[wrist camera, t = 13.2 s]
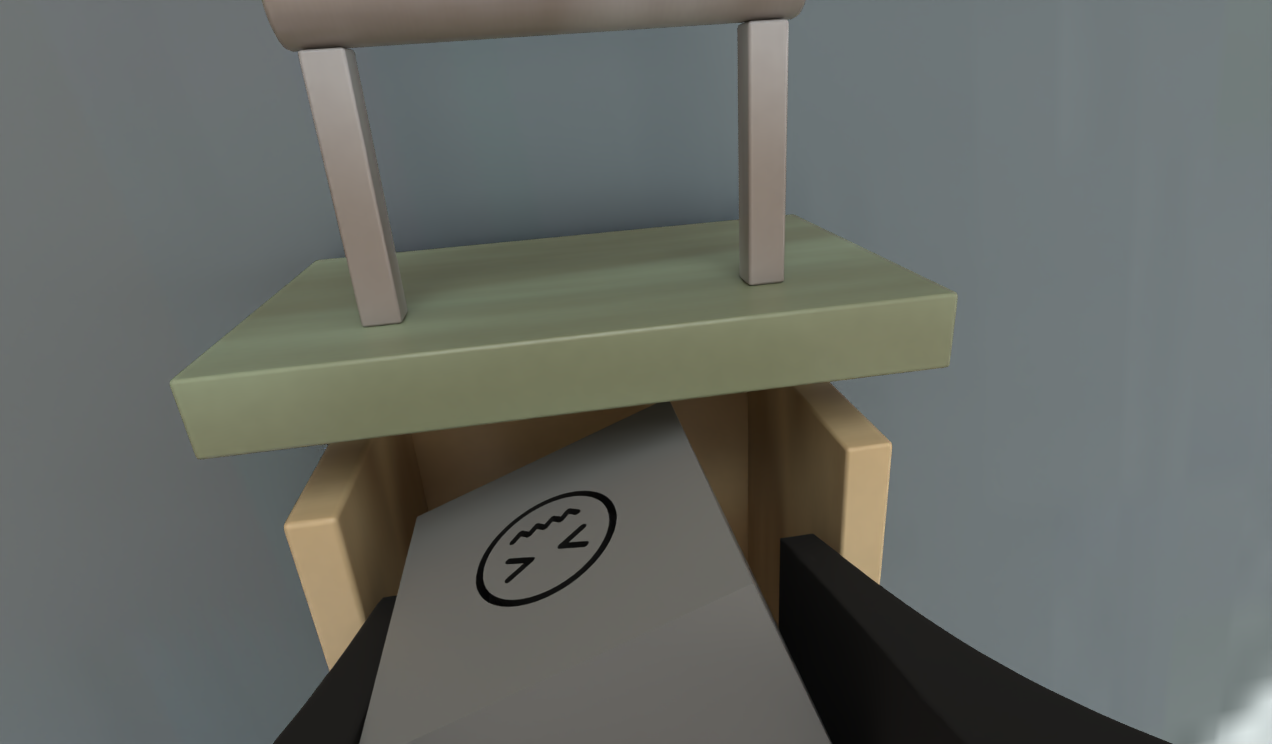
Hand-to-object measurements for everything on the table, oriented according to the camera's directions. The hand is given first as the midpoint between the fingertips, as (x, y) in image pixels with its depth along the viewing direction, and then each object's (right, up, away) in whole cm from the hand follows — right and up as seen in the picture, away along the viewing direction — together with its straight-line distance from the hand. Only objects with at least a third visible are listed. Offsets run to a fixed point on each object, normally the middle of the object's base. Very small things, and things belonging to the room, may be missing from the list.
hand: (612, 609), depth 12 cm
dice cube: (0, +1, +1) cm, 2 cm away
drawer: (-1, +4, +5) cm, 6 cm away
